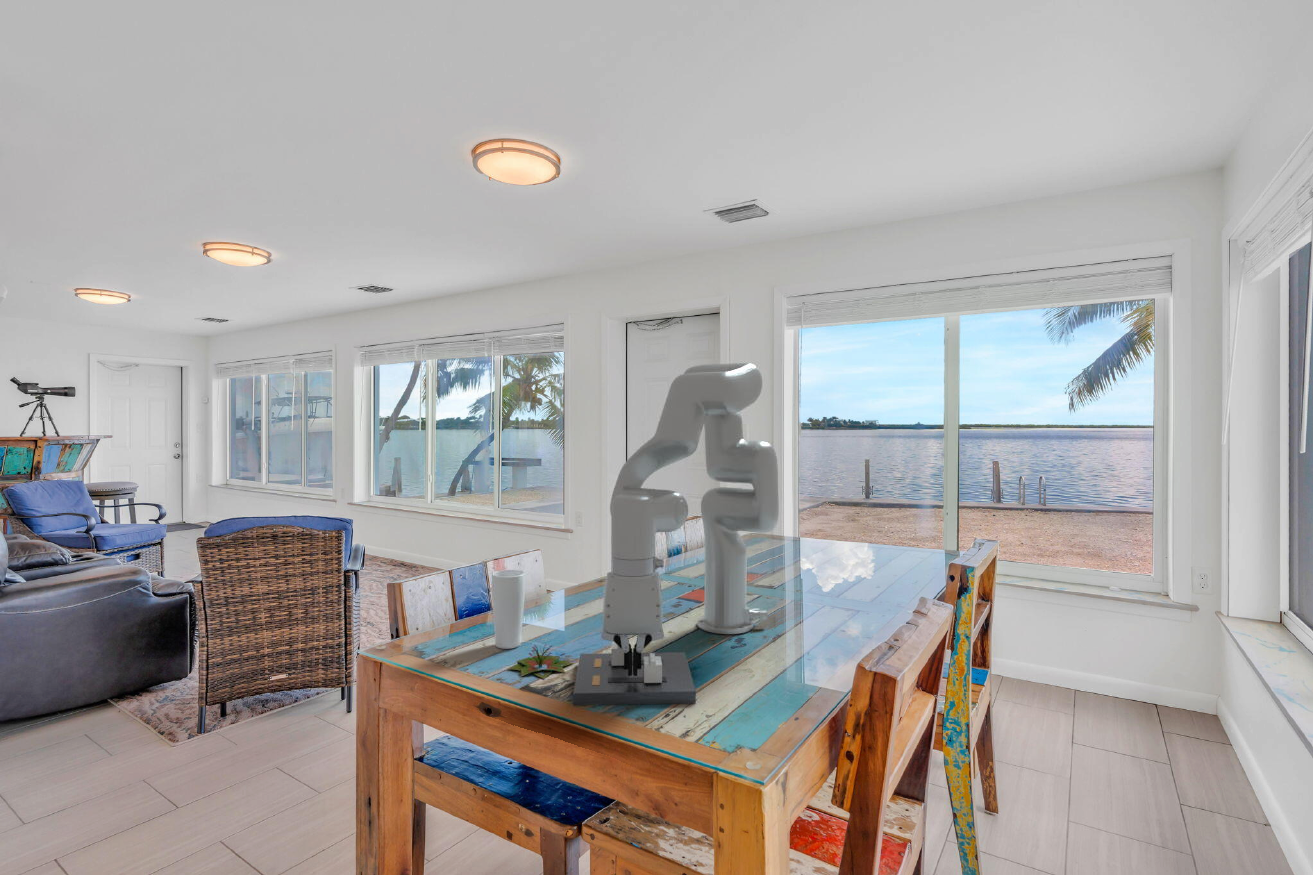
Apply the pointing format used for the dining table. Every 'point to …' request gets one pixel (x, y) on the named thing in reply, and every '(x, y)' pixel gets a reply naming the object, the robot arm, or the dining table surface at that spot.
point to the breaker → (616, 655)
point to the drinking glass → (508, 607)
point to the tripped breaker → (652, 669)
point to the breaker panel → (632, 682)
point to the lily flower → (540, 664)
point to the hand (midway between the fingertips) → (632, 672)
